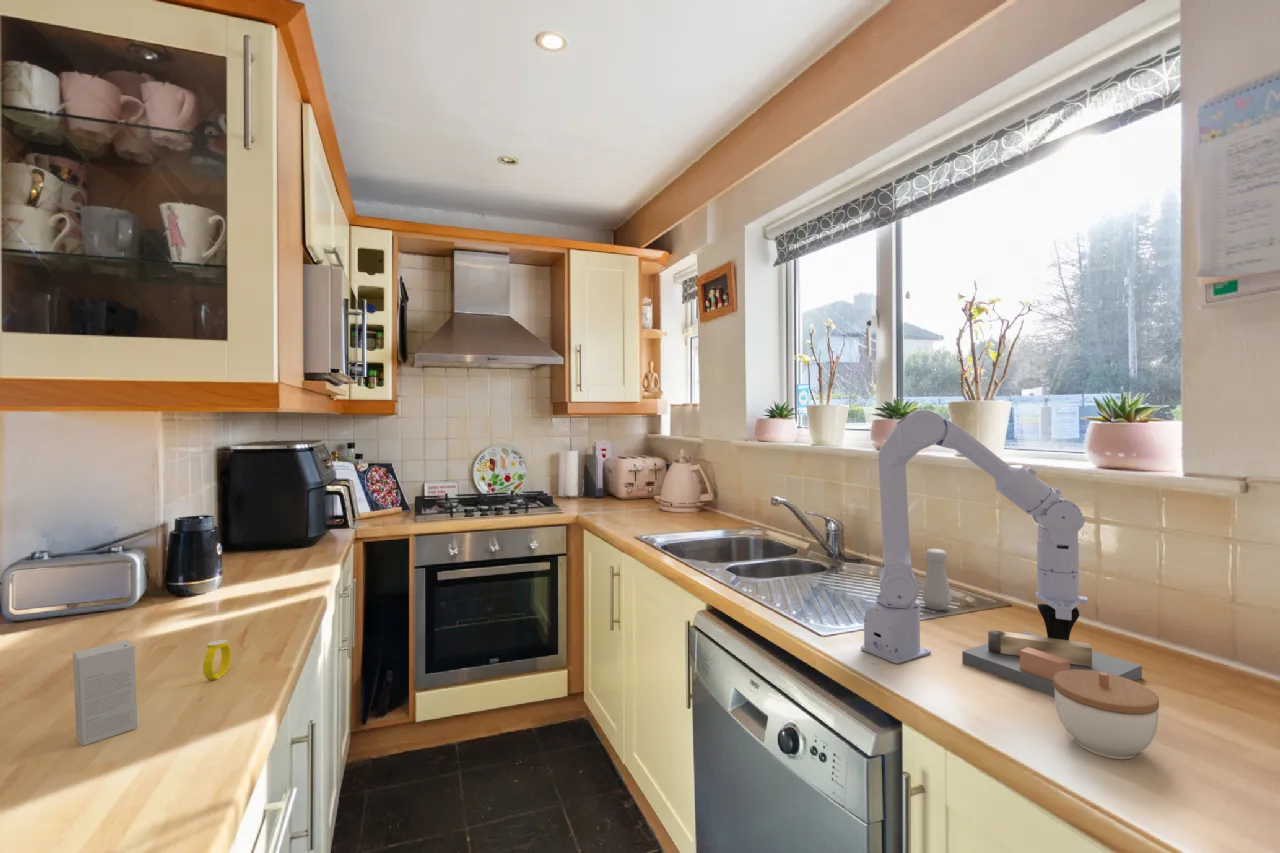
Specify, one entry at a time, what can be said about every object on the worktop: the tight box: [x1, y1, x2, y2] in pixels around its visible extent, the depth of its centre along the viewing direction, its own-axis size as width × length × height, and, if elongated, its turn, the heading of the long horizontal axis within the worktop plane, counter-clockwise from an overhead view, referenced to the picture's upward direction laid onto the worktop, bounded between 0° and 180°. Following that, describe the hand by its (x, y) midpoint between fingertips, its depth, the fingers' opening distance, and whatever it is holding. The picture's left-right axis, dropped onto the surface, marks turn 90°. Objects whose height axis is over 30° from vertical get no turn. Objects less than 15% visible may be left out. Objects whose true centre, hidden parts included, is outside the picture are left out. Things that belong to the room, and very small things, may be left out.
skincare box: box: [72, 639, 138, 747], centre depth 83 cm, size 6×4×12 cm
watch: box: [202, 639, 232, 681], centre depth 102 cm, size 6×3×6 cm, turn 9°
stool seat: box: [961, 631, 1143, 698], centre depth 99 cm, size 19×18×5 cm
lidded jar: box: [1053, 670, 1160, 761], centre depth 77 cm, size 11×11×9 cm
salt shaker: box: [921, 548, 952, 611], centre depth 132 cm, size 6×6×13 cm
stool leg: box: [987, 629, 1093, 667], centre depth 100 cm, size 14×3×3 cm, turn 61°
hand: (1058, 649), depth 100 cm, fingers closed, pressing on stool leg
